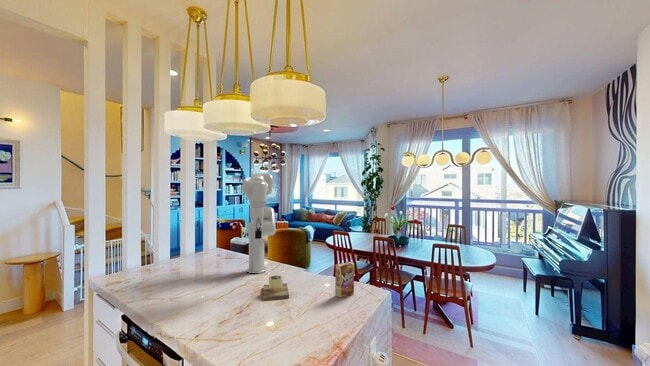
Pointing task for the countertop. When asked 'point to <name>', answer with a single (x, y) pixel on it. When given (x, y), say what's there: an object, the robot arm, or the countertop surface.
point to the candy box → (344, 279)
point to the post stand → (275, 295)
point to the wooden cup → (275, 284)
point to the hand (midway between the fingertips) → (258, 236)
